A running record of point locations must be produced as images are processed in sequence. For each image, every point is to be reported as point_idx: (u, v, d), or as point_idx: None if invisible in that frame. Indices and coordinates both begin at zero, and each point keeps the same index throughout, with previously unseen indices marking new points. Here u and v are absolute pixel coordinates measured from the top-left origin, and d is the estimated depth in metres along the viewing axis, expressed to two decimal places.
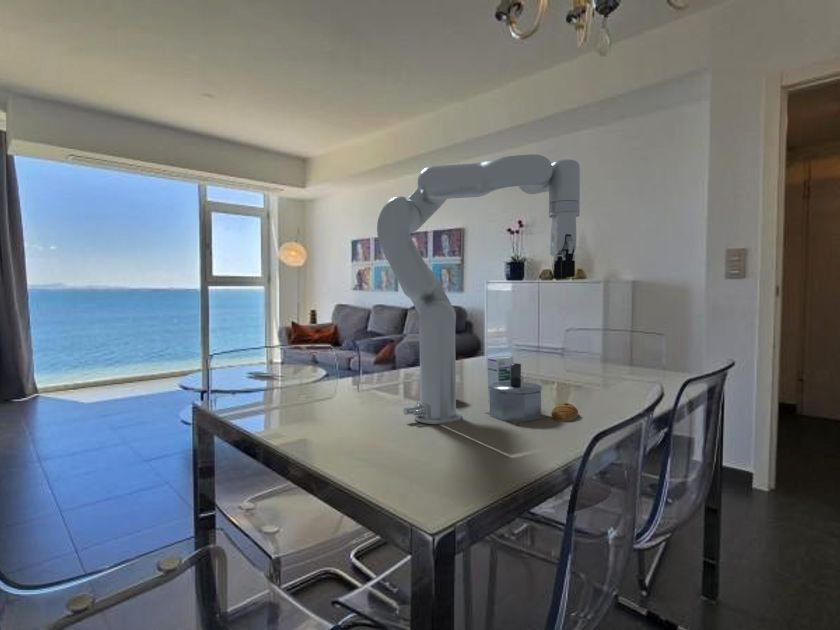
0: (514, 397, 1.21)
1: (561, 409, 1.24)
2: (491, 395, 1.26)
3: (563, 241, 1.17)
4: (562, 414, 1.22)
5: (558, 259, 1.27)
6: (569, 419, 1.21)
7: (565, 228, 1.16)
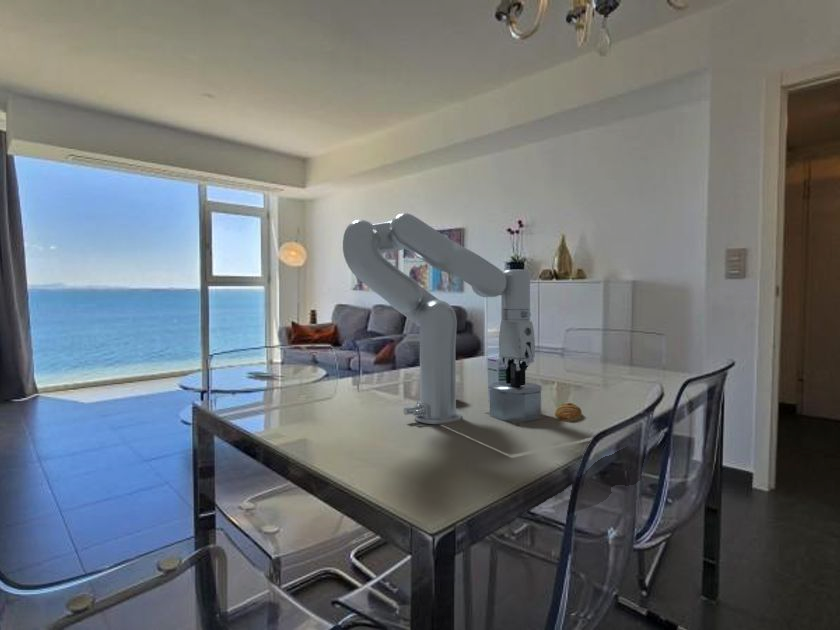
0: (514, 397, 1.21)
1: (565, 409, 1.24)
2: (491, 395, 1.26)
3: None
4: (567, 414, 1.21)
5: None
6: (574, 419, 1.21)
7: None
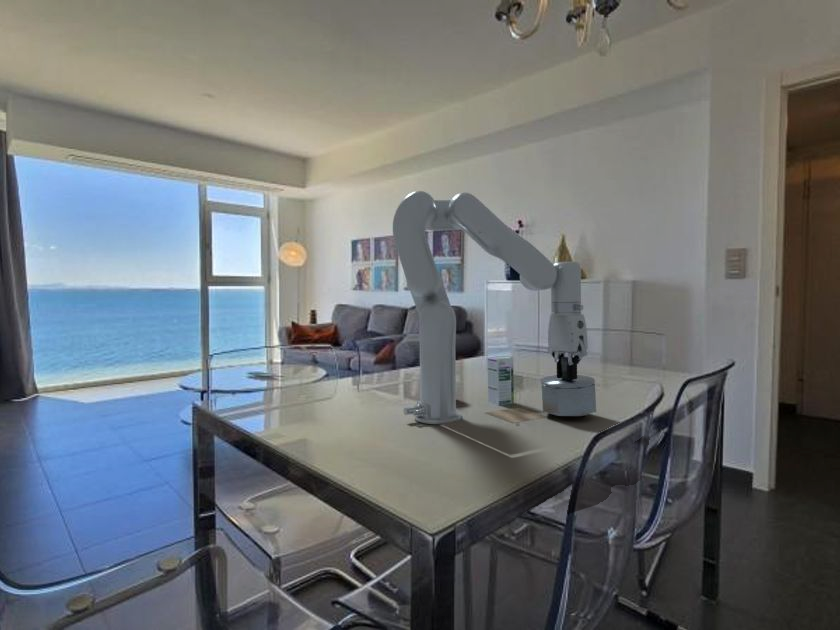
0: (570, 392, 1.19)
1: None
2: (543, 391, 1.24)
3: None
4: None
5: None
6: None
7: None
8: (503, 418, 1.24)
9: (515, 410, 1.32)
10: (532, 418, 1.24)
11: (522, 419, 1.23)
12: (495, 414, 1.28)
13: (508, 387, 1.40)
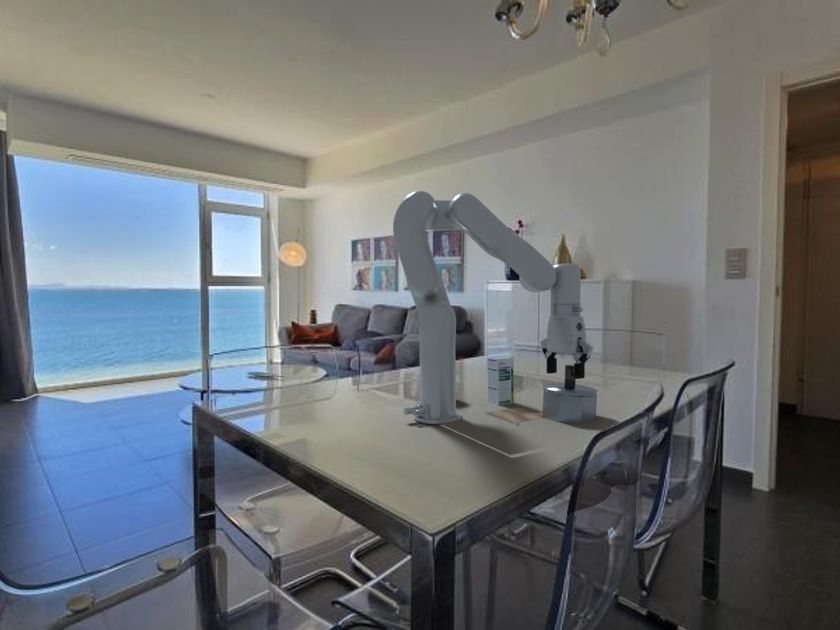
0: (572, 399, 1.19)
1: None
2: (545, 396, 1.24)
3: None
4: None
5: None
6: None
7: None
8: (503, 418, 1.24)
9: (515, 410, 1.32)
10: (532, 418, 1.24)
11: (522, 419, 1.23)
12: (495, 414, 1.28)
13: (508, 387, 1.40)
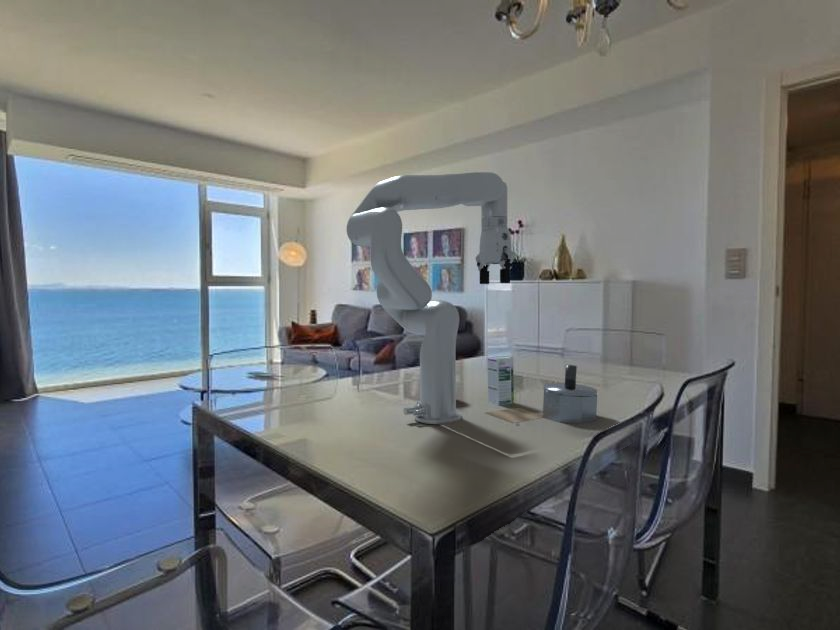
0: (572, 399, 1.19)
1: None
2: (545, 396, 1.24)
3: None
4: None
5: None
6: None
7: None
8: (503, 418, 1.24)
9: (515, 410, 1.32)
10: (532, 418, 1.24)
11: (522, 419, 1.23)
12: (495, 414, 1.28)
13: (508, 387, 1.40)
